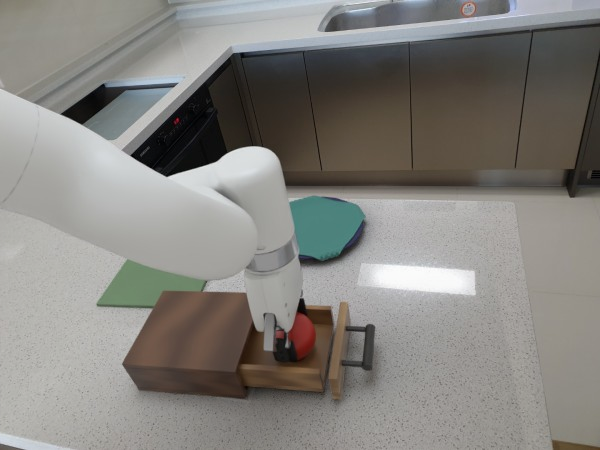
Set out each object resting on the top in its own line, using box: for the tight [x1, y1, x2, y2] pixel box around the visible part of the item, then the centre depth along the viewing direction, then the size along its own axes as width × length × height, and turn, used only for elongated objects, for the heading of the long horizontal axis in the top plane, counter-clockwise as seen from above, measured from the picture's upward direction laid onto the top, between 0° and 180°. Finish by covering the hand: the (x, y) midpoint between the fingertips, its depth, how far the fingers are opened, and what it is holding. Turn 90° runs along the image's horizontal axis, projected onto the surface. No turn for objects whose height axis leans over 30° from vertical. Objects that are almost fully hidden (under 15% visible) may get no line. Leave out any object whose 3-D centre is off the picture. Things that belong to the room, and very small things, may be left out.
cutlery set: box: [289, 195, 367, 262], centre depth 95 cm, size 20×30×2 cm, turn 59°
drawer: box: [238, 301, 376, 400], centre depth 68 cm, size 21×13×5 cm, turn 79°
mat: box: [95, 259, 208, 309], centre depth 92 cm, size 20×20×1 cm
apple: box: [276, 312, 316, 362], centre depth 67 cm, size 7×7×8 cm
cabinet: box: [121, 290, 254, 400], centre depth 72 cm, size 18×15×7 cm
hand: (292, 337), depth 67 cm, fingers closed on apple, 7 cm apart
